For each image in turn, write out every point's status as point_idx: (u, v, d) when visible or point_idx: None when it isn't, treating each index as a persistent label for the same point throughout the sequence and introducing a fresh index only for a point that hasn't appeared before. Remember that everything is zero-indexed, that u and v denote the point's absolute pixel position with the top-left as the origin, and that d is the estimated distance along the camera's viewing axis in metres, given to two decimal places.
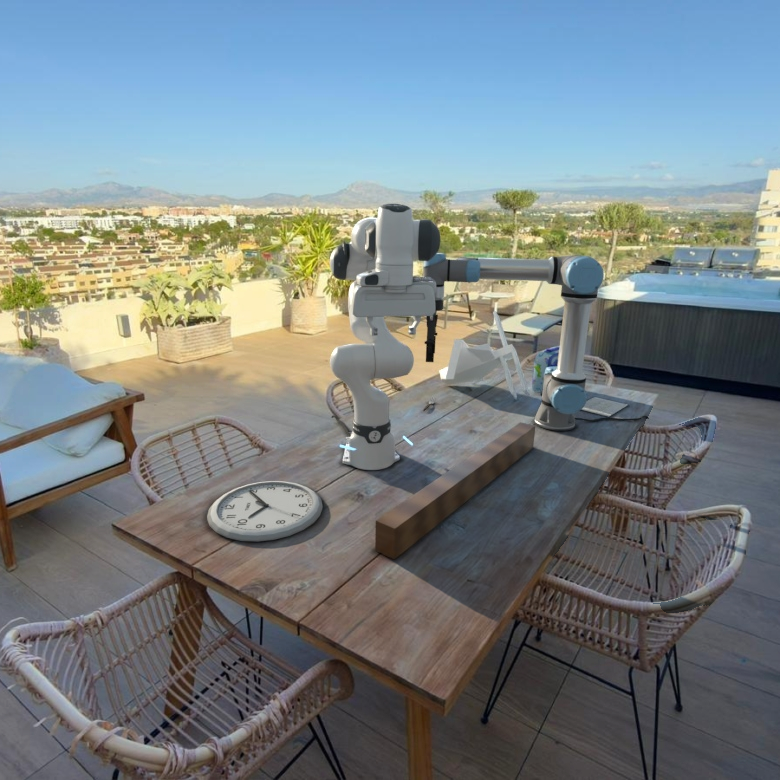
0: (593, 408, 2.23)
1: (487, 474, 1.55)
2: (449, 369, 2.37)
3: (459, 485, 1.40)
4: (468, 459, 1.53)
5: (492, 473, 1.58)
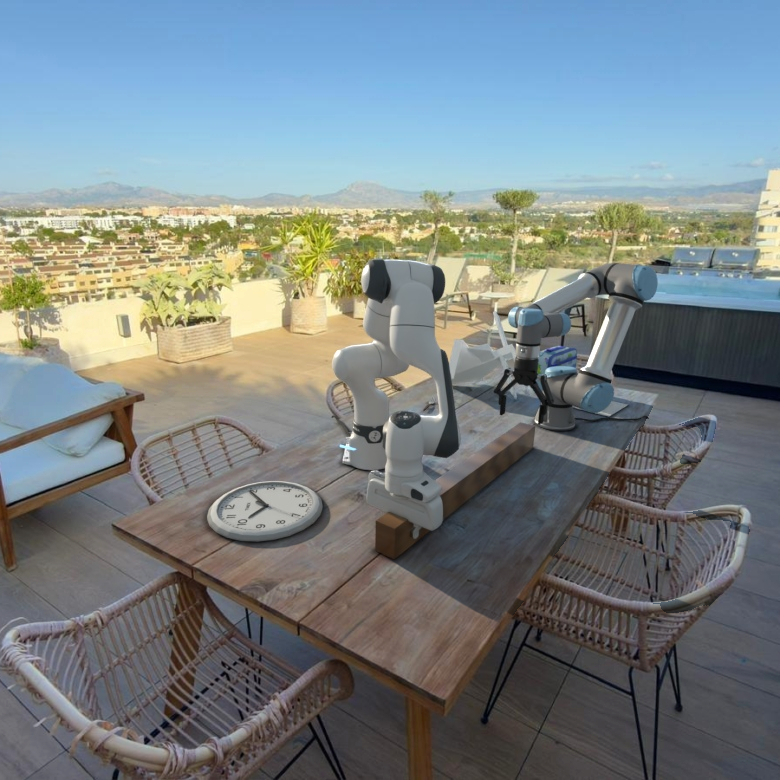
0: None
1: (487, 474, 1.55)
2: None
3: (459, 485, 1.40)
4: (468, 459, 1.53)
5: (492, 473, 1.58)
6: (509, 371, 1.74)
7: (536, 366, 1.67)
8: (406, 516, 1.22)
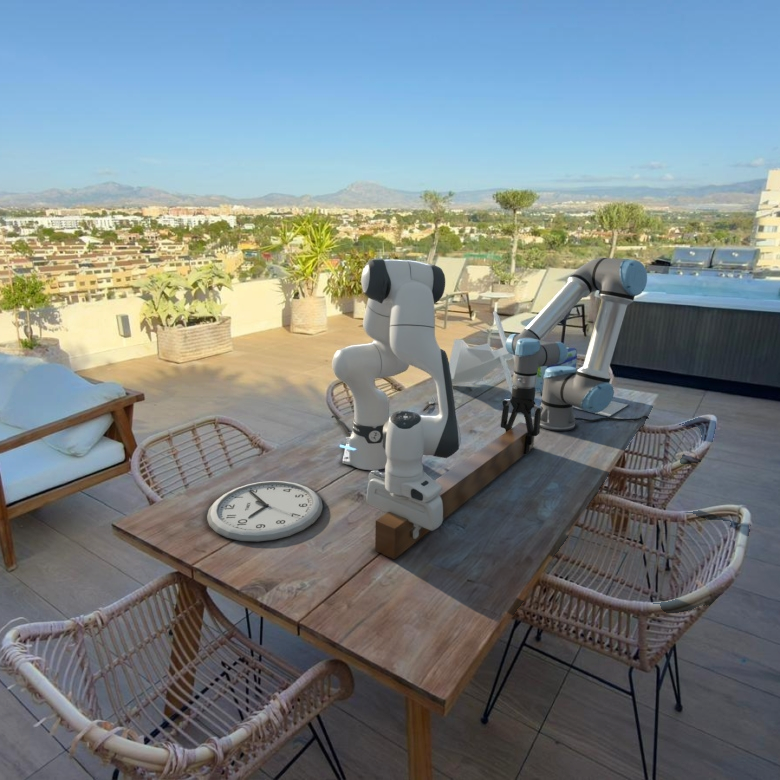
0: None
1: (487, 474, 1.55)
2: None
3: (459, 485, 1.40)
4: (468, 459, 1.53)
5: (492, 473, 1.58)
6: (507, 401, 1.77)
7: (533, 395, 1.70)
8: (406, 516, 1.22)
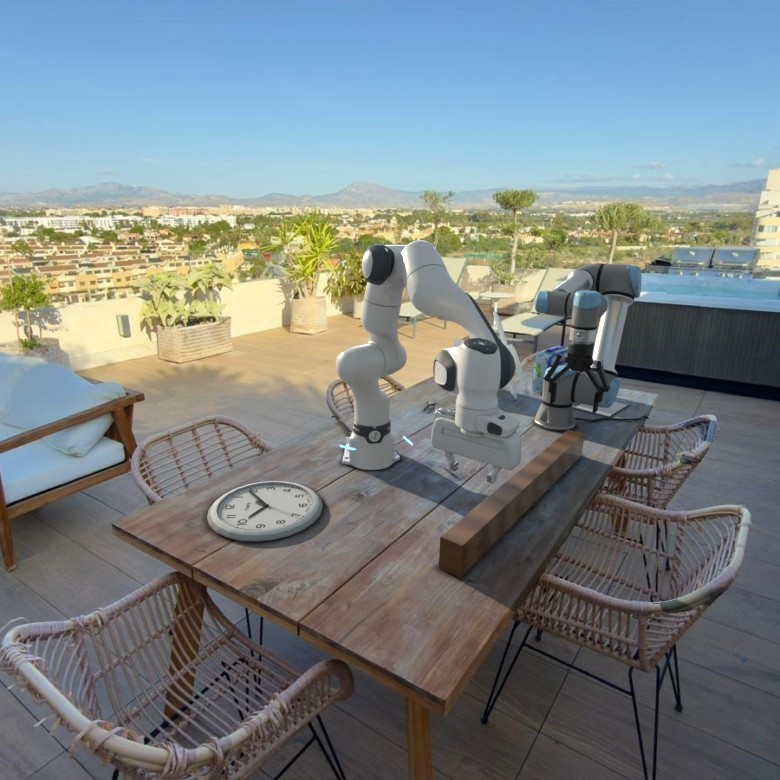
0: None
1: (542, 485, 1.49)
2: None
3: (518, 497, 1.34)
4: (523, 469, 1.47)
5: (546, 483, 1.52)
6: (561, 357, 1.65)
7: (592, 351, 1.59)
8: (479, 456, 1.10)
